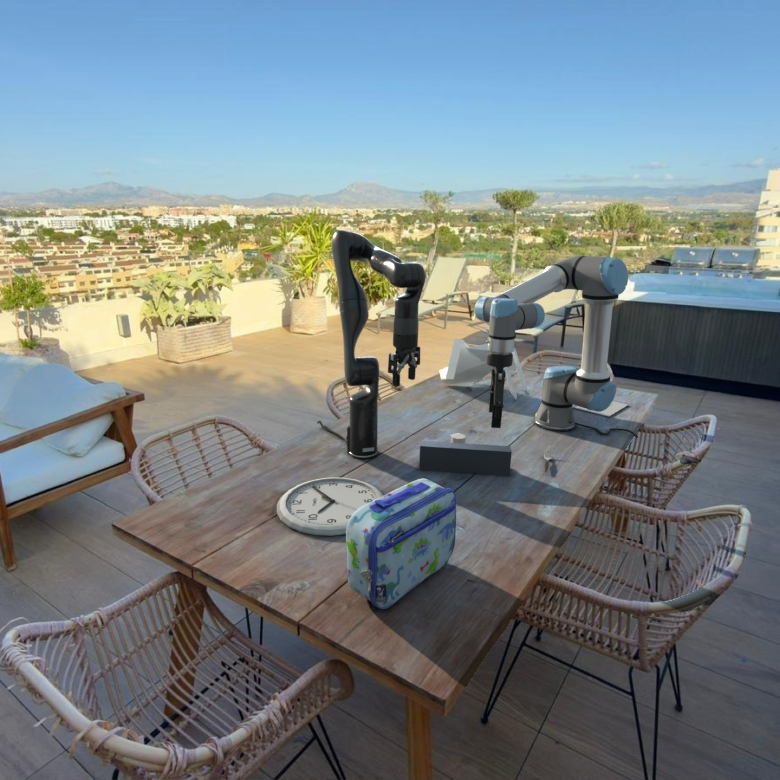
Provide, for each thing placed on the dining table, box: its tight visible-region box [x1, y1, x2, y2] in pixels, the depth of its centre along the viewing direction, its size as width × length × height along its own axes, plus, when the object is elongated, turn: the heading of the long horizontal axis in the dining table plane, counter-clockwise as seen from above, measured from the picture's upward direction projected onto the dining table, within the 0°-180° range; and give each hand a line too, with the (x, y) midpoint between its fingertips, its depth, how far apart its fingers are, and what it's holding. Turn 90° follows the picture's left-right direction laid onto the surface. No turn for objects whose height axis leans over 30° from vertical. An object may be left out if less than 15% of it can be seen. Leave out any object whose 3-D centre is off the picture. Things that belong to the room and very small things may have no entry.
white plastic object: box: [438, 338, 531, 400], centre depth 245 cm, size 37×45×31 cm
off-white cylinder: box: [450, 432, 467, 443], centre depth 177 cm, size 5×5×6 cm
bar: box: [418, 440, 513, 476], centre depth 164 cm, size 28×4×8 cm, turn 83°
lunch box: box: [345, 477, 457, 610], centre depth 110 cm, size 26×11×21 cm, turn 134°
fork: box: [543, 448, 554, 473], centre depth 170 cm, size 3×16×2 cm, turn 160°
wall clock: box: [276, 476, 385, 537], centre depth 142 cm, size 30×2×30 cm
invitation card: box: [573, 400, 629, 418], centre depth 226 cm, size 21×1×15 cm
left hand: (403, 382), depth 162 cm, fingers open, 8 cm apart
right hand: (494, 419), depth 160 cm, fingers open, 13 cm apart
